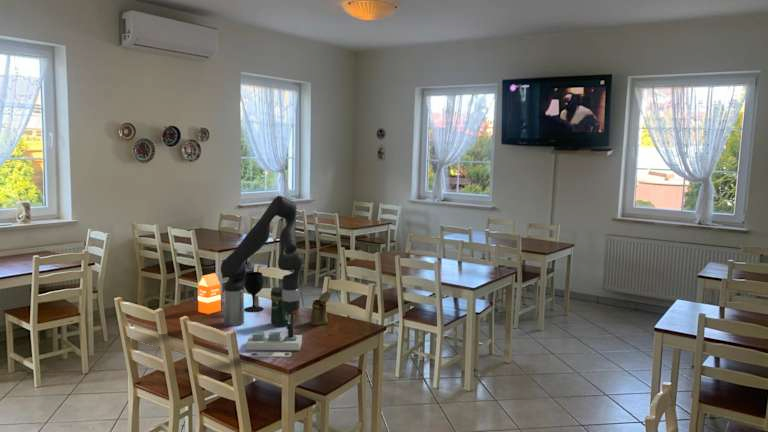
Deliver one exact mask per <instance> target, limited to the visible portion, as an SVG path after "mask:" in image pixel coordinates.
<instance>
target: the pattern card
mask: <svg viewBox="0 0 768 432" xmlns="http://www.w3.org/2000/svg"><path fill="white" fill-rule="evenodd" d="M291 356H292V352H286V351H274V352H273V351H251V353H250V354H249V357H250V358H256V357H257V358H261V357H262V358H268V357H269V358H273V357H274V358H280V357H281V358H290V357H291Z"/></svg>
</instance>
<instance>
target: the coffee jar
mask: <svg viewBox="0 0 768 432" xmlns="http://www.w3.org/2000/svg"><path fill="white" fill-rule="evenodd" d="M270 299H271V310H270V311H271V313H270V323H271V325H274V326H276V327H287V324H286V313H287V311H284V310H283V309H282V287H280V286H275V287H272V288H271V290H270Z"/></svg>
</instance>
